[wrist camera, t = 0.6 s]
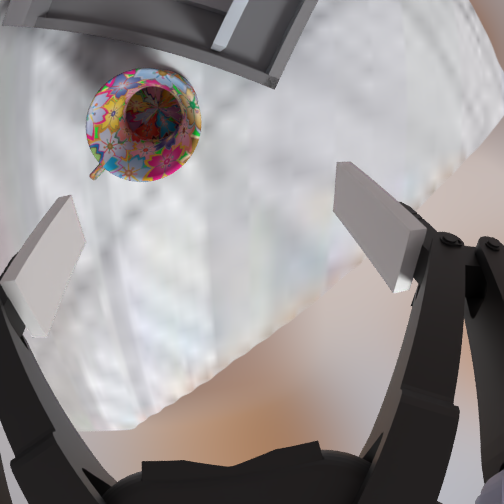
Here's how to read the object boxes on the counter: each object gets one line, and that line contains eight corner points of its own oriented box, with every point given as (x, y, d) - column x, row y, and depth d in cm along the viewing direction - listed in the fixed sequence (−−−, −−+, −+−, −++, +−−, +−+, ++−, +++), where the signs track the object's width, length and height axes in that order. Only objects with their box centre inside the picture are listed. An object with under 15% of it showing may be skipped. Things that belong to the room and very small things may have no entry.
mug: (163, 49, 27) (145, 44, 19) (219, 109, 32) (226, 129, 23) (85, 126, 30) (46, 154, 22) (140, 179, 35) (121, 223, 26)
